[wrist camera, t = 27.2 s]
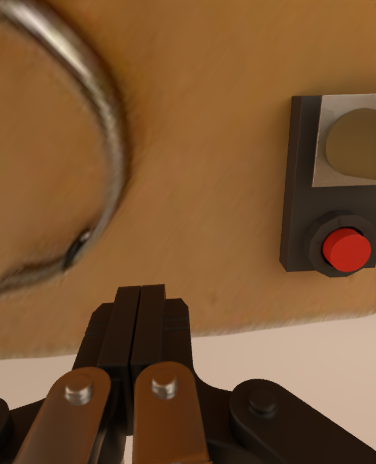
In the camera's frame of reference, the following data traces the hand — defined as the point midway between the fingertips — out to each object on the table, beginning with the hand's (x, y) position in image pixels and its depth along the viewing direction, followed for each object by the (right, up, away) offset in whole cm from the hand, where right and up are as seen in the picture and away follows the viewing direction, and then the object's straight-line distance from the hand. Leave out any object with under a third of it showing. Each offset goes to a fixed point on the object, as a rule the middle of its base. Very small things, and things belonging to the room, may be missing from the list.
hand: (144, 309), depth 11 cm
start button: (+17, +1, +23) cm, 29 cm away
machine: (+17, +8, +25) cm, 31 cm away
